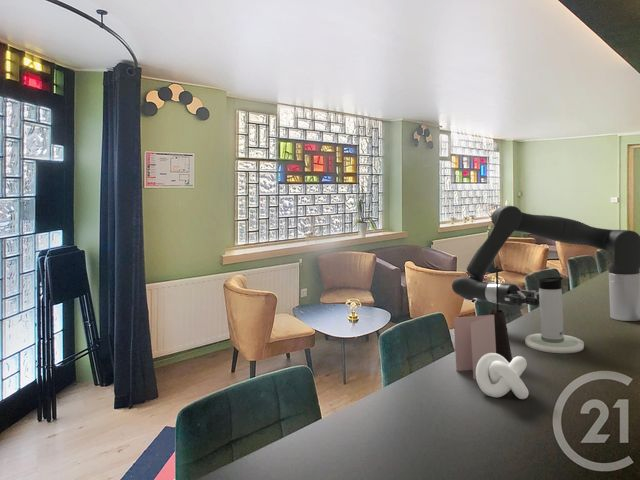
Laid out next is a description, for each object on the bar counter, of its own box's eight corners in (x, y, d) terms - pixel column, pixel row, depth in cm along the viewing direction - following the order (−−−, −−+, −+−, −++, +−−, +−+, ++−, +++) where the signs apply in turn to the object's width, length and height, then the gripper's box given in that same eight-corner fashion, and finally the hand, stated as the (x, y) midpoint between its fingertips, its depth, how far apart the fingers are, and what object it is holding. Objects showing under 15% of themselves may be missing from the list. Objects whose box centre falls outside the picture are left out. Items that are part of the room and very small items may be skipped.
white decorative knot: (546, 403, 89) (544, 364, 89) (495, 409, 88) (493, 369, 88) (517, 383, 100) (516, 348, 100) (471, 388, 100) (469, 352, 99)
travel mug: (568, 342, 123) (565, 278, 122) (545, 343, 124) (542, 279, 123) (560, 336, 129) (557, 275, 128) (538, 337, 130) (535, 276, 129)
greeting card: (495, 366, 112) (492, 313, 111) (508, 376, 105) (505, 320, 104) (455, 369, 112) (452, 317, 111) (465, 380, 104) (462, 323, 104)
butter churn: (482, 352, 124) (477, 263, 122) (516, 354, 120) (512, 262, 119) (483, 363, 115) (478, 267, 114) (520, 365, 112) (515, 266, 110)
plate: (521, 336, 136) (521, 332, 136) (575, 338, 131) (575, 333, 131) (530, 352, 121) (529, 347, 121) (591, 354, 116) (590, 349, 116)
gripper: (488, 286, 138) (532, 291, 123) (514, 280, 144) (559, 285, 130) (489, 307, 138) (533, 315, 124) (515, 301, 145) (560, 308, 131)
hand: (546, 300), depth 127 cm, fingers open, 8 cm apart
